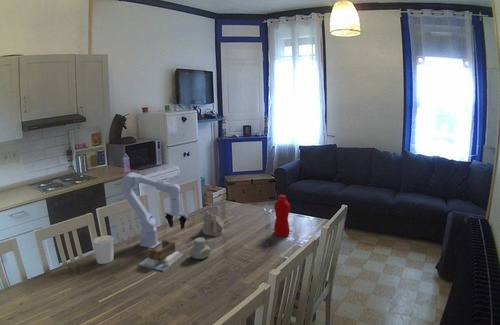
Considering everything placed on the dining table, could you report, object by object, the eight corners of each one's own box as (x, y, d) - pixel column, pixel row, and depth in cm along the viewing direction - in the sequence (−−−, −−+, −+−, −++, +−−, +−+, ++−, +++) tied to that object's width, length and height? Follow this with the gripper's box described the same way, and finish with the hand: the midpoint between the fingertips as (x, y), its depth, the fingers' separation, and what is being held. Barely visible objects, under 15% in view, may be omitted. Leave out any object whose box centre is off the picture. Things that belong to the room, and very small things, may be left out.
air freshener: (202, 250, 189) (201, 234, 187) (213, 255, 184) (212, 238, 182) (187, 258, 181) (186, 241, 179) (198, 263, 176) (197, 245, 174)
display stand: (138, 265, 174) (137, 258, 173) (159, 250, 190) (159, 243, 189) (163, 271, 168) (163, 264, 167) (184, 255, 184) (183, 248, 183)
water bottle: (292, 237, 205) (293, 197, 200) (274, 237, 205) (275, 198, 200) (291, 230, 214) (291, 193, 209) (273, 231, 214) (274, 193, 209)
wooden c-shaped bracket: (148, 258, 175) (147, 249, 174) (163, 248, 186) (163, 239, 185) (160, 261, 172) (159, 252, 171) (175, 251, 182) (174, 242, 181)
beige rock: (219, 237, 205) (218, 213, 203) (197, 233, 213) (196, 210, 211) (233, 230, 218) (232, 207, 216) (212, 226, 226) (211, 204, 224)
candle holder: (119, 257, 182) (117, 236, 180) (106, 266, 173) (103, 244, 171) (104, 254, 186) (102, 234, 183) (91, 263, 176) (88, 241, 174)
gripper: (190, 204, 193) (191, 226, 196) (169, 201, 198) (170, 223, 201) (183, 208, 186) (184, 231, 189) (161, 205, 192) (163, 227, 195)
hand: (176, 227), depth 195 cm, fingers open, 7 cm apart
